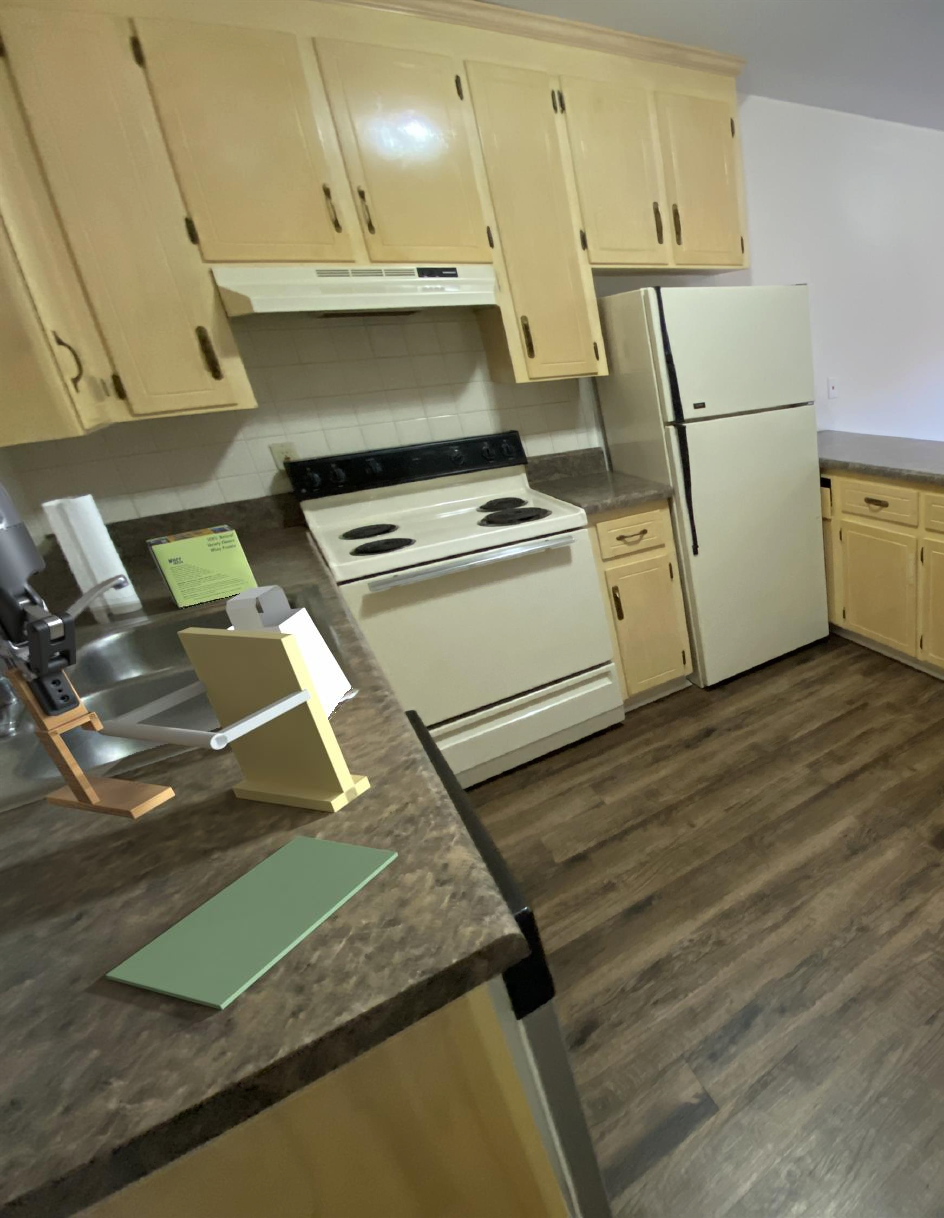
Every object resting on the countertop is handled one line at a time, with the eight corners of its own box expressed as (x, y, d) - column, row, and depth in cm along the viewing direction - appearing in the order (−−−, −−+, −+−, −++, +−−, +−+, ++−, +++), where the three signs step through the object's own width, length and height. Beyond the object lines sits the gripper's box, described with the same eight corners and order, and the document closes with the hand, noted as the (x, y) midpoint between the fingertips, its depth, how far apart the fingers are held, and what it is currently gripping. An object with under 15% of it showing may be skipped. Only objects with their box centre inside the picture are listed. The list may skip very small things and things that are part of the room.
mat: (107, 979, 59) (104, 975, 58) (299, 839, 75) (297, 835, 74) (222, 1010, 55) (219, 1006, 55) (398, 855, 71) (396, 852, 71)
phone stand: (134, 819, 62) (49, 677, 56) (49, 804, 65) (-40, 669, 59) (175, 795, 65) (99, 658, 59) (92, 782, 68) (11, 651, 62)
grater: (245, 737, 97) (187, 611, 89) (282, 702, 106) (233, 585, 99) (324, 724, 99) (273, 600, 91) (354, 691, 108) (310, 576, 101)
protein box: (260, 589, 164) (235, 529, 158) (179, 610, 153) (149, 546, 148) (250, 582, 171) (226, 524, 165) (172, 601, 160) (143, 539, 154)
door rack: (268, 863, 71) (180, 683, 63) (159, 843, 76) (64, 673, 67) (372, 787, 83) (310, 627, 75) (273, 773, 87) (204, 621, 79)
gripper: (-167, 540, 53) (-46, 726, 59) (-60, 542, 49) (55, 740, 56) (-36, 516, 59) (60, 686, 66) (66, 516, 56) (156, 695, 62)
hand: (57, 710), depth 61 cm, fingers closed on phone stand, 1 cm apart
